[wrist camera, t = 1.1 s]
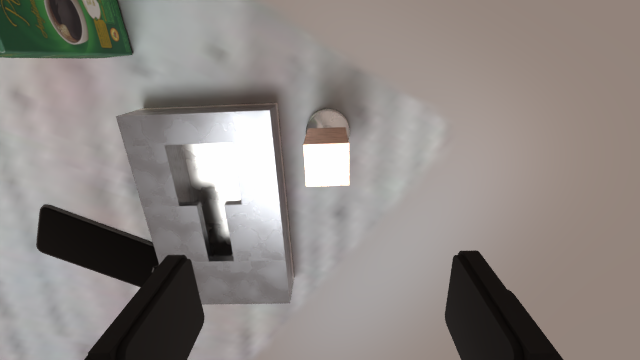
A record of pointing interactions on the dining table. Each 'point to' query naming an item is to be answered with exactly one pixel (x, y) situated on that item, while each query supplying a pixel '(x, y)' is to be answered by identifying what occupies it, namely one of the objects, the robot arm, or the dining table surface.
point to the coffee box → (62, 29)
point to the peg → (327, 149)
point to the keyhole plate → (216, 196)
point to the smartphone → (95, 246)
